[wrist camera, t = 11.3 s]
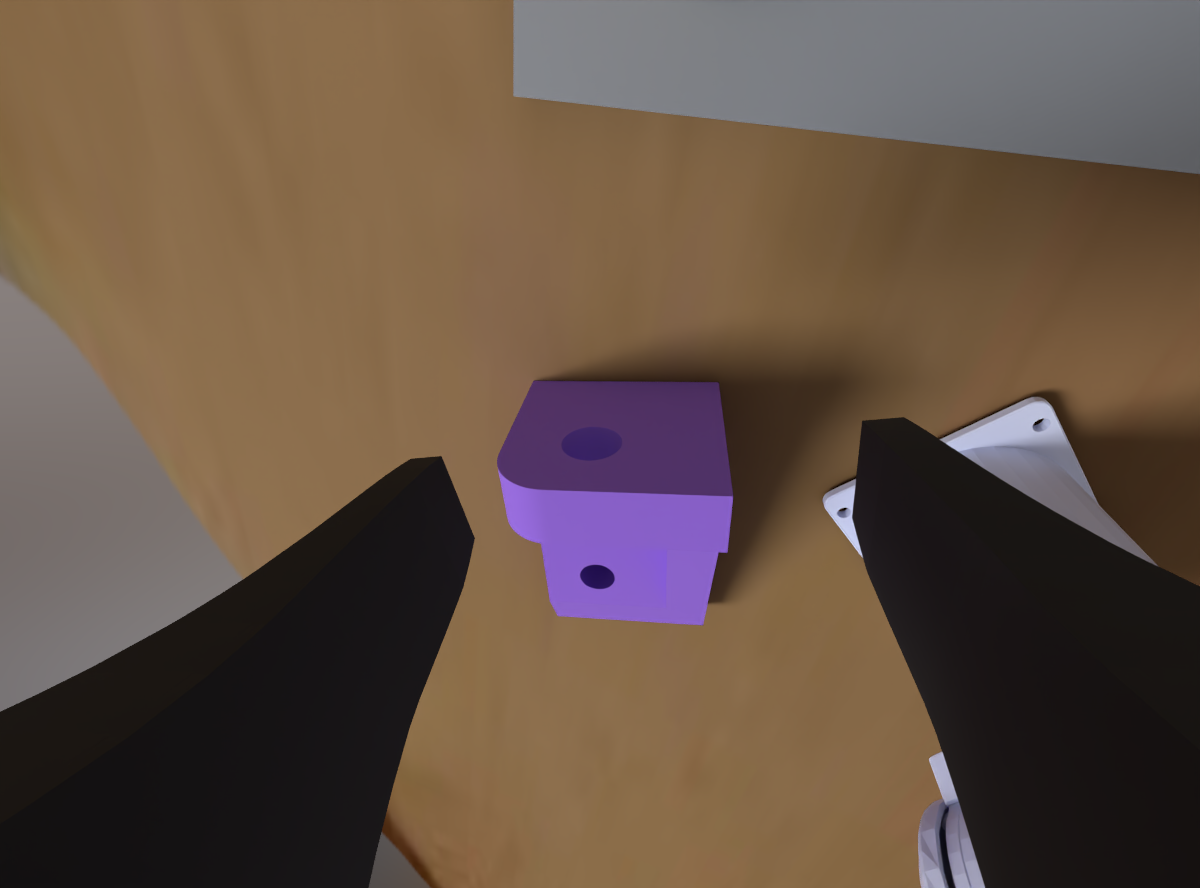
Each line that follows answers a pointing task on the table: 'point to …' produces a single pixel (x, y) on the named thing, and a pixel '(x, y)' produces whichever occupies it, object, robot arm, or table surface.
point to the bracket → (622, 495)
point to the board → (889, 69)
